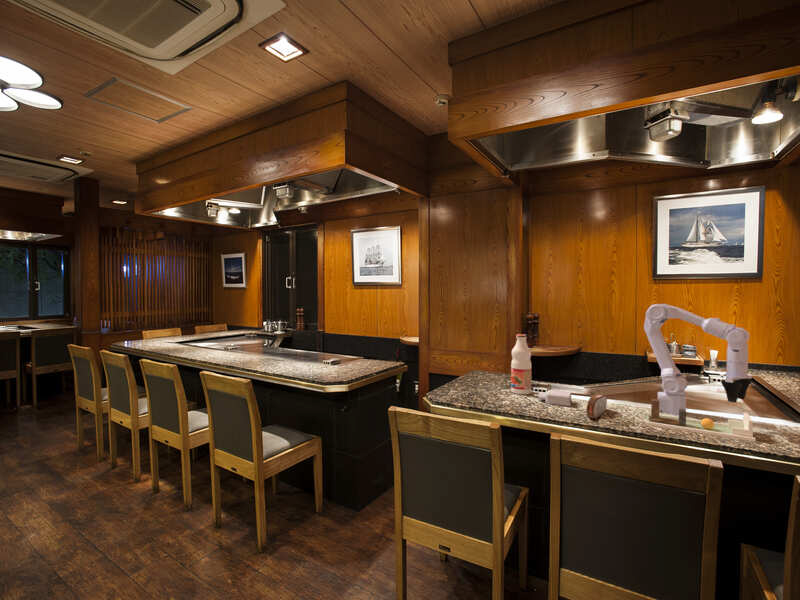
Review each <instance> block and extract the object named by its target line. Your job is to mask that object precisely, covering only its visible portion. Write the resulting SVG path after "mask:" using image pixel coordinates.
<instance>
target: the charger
mask: <svg viewBox="0 0 800 600" xmlns="http://www.w3.org/2000/svg"><path fill="white" fill-rule="evenodd" d="M533 396H535V397H537V398H538V399H539V400H545V403H546V404H547V403H548V404H547V405H554V404H556V405H555V406H562V405H563V406H562V407H570V406H571V404H572V392H571V391H564V390H555V389H548V390H547V391H546V392H539V393H534V394H533ZM570 401H571V402H570Z"/></svg>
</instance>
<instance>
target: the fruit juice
mask: <svg viewBox="0 0 800 600" xmlns="http://www.w3.org/2000/svg"><path fill="white" fill-rule="evenodd" d="M515 337H516V338H515V339H516V342H515V345H514V347H512V349H511V358H512V359H511V362H510V363H511V364H510V391H511V393H512V392H513V394H515V393H516V395H523V394H524V395H530V394H532V361H531V357H532V351H531V349H530V347H529V346H528V343H527V339H528V338H527V334H525V333H524V334H523V333H517V334H516V335H515Z"/></svg>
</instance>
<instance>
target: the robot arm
mask: <svg viewBox="0 0 800 600" xmlns="http://www.w3.org/2000/svg"><path fill="white" fill-rule="evenodd" d="M669 319H679V320H682V321H685V322H687V323H691V324H693V325H696V326H699V327H701V328H702V331H703V332H704V333H707V334H709V335H712V336H714V337H716V338H719V339H721V340H726V342H727V348H726V371H725V372H726V373H725V379H723V380H721V381H720V382H721V385H722V386H723V388H724V391H725V394H726V399H727V401H728V403H729V402H730V403H737V401H738V399H739V400H745V397H746V394H747V390H748V388H749V387H750V385H751V384H752V382H753V380H752V379H753V376H752V375H749V374H748V371H749V370H748V369H749V363H748V362H749V349H748V347H749V345H748V342H749V340H750V337H751V335H750V333H749V332H748V330H746V329H744V328H743V327H740V326H739V327H736V324H733V323H731V324H730V323H727V322H725V321H722V320H721V318H719V317H709V318H705V317H702V316H699V315H697V314H695V313H692V312H690V311H688V310H685V309H684V308H681V307H677V306H673V305H669V304H667V303H656V304H651V306H649V307H648V308H647V310H646V312H645V319H644V323H643V329H644V332H645V334H646V337H647V340H648V342H649V344H650V347H651V349H652V351H653V355H654V356H655V359H656V361H657V364H658V365H659V368H660V370H661V371H660V378H661V380H662V383H661V387H662V390H663V391H657V399H658V400H660V403H659V413H662V414H668V415H672V416H679V409H684V410H686V411H687V392H686V391H685V389H687V388H688V384H689V383H688V380H687V378H686V377H684V376H683V375H682V373H681V371H680V370H679V368H678V367H677V366H676V364H675V361H674V359H673V357H672V354H671V352H670V349H669V347H668V344H667V342H666V340H665V338H664V335H663V333H662V331H661V328H662V327H663V325H664V323H665V322H666V321H667V320H669Z"/></svg>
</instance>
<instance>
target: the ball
mask: <svg viewBox="0 0 800 600" xmlns="http://www.w3.org/2000/svg"><path fill="white" fill-rule="evenodd" d="M701 420H702V421H701V425H702V427H703V428H705V429H712V428H713V427H714V422H715V421H713V420H712V419H711V418H707V417H705V418H703V419H701Z"/></svg>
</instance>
